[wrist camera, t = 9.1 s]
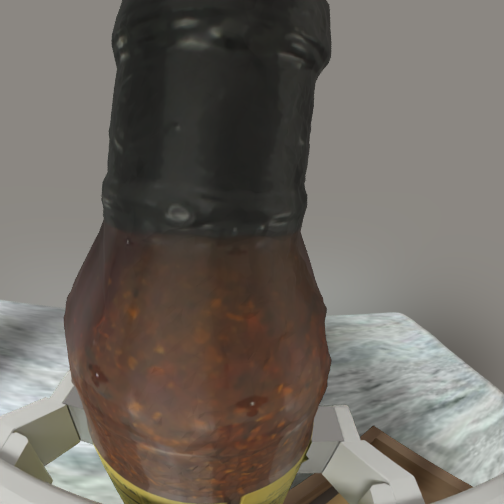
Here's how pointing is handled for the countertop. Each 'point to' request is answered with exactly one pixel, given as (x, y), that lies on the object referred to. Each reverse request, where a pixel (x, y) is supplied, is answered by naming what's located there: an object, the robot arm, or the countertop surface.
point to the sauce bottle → (204, 255)
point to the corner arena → (425, 473)
